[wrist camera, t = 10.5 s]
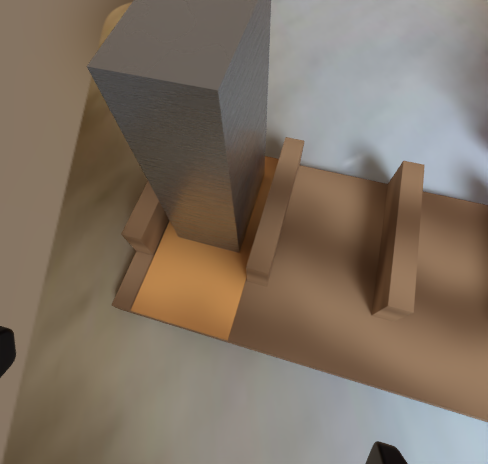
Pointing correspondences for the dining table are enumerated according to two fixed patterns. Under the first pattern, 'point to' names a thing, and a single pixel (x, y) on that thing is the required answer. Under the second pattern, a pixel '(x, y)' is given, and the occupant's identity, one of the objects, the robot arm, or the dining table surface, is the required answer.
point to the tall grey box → (193, 107)
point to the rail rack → (333, 280)
